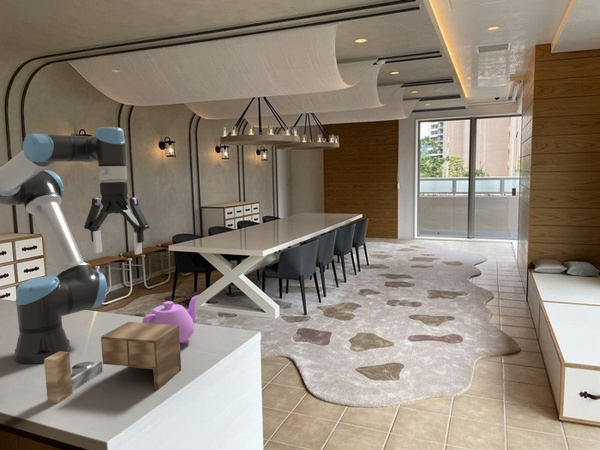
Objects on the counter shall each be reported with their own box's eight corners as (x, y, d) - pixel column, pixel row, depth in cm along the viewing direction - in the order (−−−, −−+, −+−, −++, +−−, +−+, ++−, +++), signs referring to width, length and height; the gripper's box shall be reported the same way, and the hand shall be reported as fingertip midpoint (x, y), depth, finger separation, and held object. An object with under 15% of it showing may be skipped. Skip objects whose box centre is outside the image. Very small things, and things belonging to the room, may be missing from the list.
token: (67, 378, 128) (66, 369, 128) (83, 369, 134) (83, 360, 134) (85, 380, 126) (84, 371, 126) (100, 371, 132) (100, 362, 132)
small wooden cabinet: (103, 384, 124) (100, 336, 122) (130, 365, 135) (128, 321, 134) (158, 390, 120) (155, 341, 118) (181, 369, 132) (178, 325, 130)
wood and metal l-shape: (58, 403, 114) (54, 360, 112) (47, 402, 115) (44, 359, 113) (105, 372, 131) (102, 334, 130) (96, 371, 132) (93, 333, 131)
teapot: (186, 328, 166) (184, 290, 165) (214, 337, 156) (213, 297, 155) (129, 346, 150) (126, 305, 148) (156, 359, 140) (154, 314, 138)
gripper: (67, 182, 136) (73, 254, 138) (144, 181, 130) (148, 256, 132) (85, 181, 143) (90, 249, 145) (158, 180, 137) (162, 251, 139)
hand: (118, 253), depth 139 cm, fingers open, 13 cm apart
